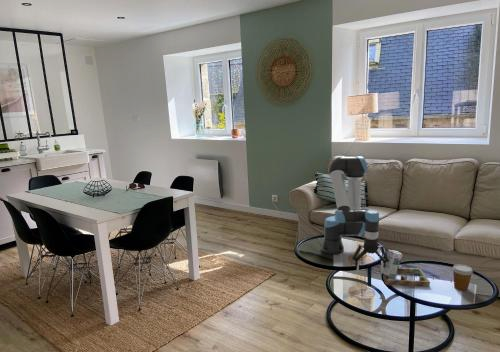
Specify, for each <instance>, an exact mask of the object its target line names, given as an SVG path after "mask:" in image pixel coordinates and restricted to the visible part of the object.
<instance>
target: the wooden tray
mask: <svg viewBox="0 0 500 352" xmlns="http://www.w3.org/2000/svg"><path fill="white" fill-rule="evenodd" d="M379 273H381V266H380V267H379ZM407 273H409V275H410V274H411V275H419V277H418V278H419V279H418V280H415V279H414V280H413V279H411V280H410V279H407V278H408V276H407V275H400V279H391V278H389V277H388V275H385V274H383V279H382V280H383V282H384V284H385V286H399V287H417V288H418V287H419V288H420V287H421V288H424V287H425V288H430V284H431V281H430V280H429V279H428V277H427V275H426V274H425V273H424V272H423V270H422V269H421V268H418V267H399V269H398V272H397V274H407Z"/></svg>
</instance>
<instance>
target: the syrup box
mask: <svg viewBox="0 0 500 352" xmlns="http://www.w3.org/2000/svg"><path fill="white" fill-rule="evenodd" d="M403 255H404V254H403V253H402V252H400V251H398V250H393V249H392V250H391V249H388V250H387V254H386V256H387V258H388V260H389V262H386V263H385V268H383V273H382V274H383V275H388V278H389V277H390V278H397V276H398V273H397V272H398V269H399V268H400V266H401V262H402V258H403Z"/></svg>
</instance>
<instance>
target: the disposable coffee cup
mask: <svg viewBox="0 0 500 352" xmlns="http://www.w3.org/2000/svg"><path fill="white" fill-rule="evenodd" d="M452 270H453V271H452V272H453V288H454V289H455V290H456V291H460V292H467V291H468V289H469V287H470V283H471V277H472V275H473V273H474V271H473V268H472V267H470V266H469V265H465V264H460V263H459V264H458V263H457V264H454V265H453V267H452Z"/></svg>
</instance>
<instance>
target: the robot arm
mask: <svg viewBox="0 0 500 352" xmlns="http://www.w3.org/2000/svg"><path fill="white" fill-rule="evenodd" d="M367 173H368V163H367V161H366V158H365V157H364V156H361V155H360V156H358V155H353V156H352V155H349V156H339V157H336V158H334V159H333V160H332V161H331V163H330V165H329V168H328V175H329V178H330V179H331V182H332V188H333V194H334V198H335V199H334V200H335V203H336V209H337V210H335V211H334V215H331V216H327V217H326V218H325V219H324V226H323V227H324V229H323V230H324V234H323V236H324V237H323V241H322V244H321V252H323V253H325V254H329V255H340V254H343V253H344V252H345V247H344V243H343V240H342V237H349V236H350V237H354V236H355V237H358V236H363V235H364V238H363V239H364V240H363V245H362V244H360V243H359V244H358V245H357V249H356V250H355V252H354V253H353V256H352V258H351V259H352V261H354V265H355V267H356V272H357V273H359V272H360V260H361V259H362V258H363V257H364V256H365V255H366V254H367V253H368V254H375V255H377V257H378V258H379V259H380V260H381V261H380V267H381V272H380V273H381V274H384V273H383V268H385V263H386V262H389V260H388V258H387V254H386V252H385V249H384V246H383V245H382V244H380V245H379V239H378V238H379V227H380V212H379V211H377V210H373V209H372V210H371V209H369V208H367V207H362V208H361V206H362V204H361V203H362V202H361V201H362V200H361V199H362V179H363V178H364V176H365V175H366V174H367ZM344 176H345V177H346V179H347V188H346V182H345V178H344ZM361 250H362V251H361ZM378 250H380V251H381V252H382V255H383V256H382V255H381V254H380V252H379V251H378Z"/></svg>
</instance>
